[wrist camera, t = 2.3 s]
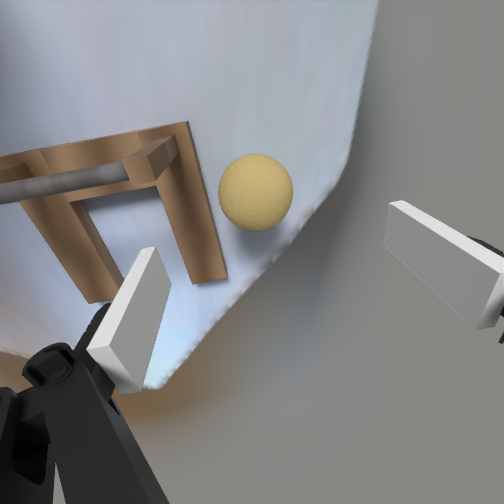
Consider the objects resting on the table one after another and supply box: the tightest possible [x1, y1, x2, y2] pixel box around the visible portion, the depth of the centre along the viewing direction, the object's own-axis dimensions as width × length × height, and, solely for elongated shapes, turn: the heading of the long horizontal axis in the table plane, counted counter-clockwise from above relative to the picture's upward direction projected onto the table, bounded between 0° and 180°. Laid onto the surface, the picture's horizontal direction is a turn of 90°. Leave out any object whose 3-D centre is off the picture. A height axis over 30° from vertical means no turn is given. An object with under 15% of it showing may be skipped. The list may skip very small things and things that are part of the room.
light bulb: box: [218, 154, 293, 231], centre depth 24 cm, size 6×6×10 cm
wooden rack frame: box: [0, 121, 227, 304], centre depth 24 cm, size 18×18×12 cm
